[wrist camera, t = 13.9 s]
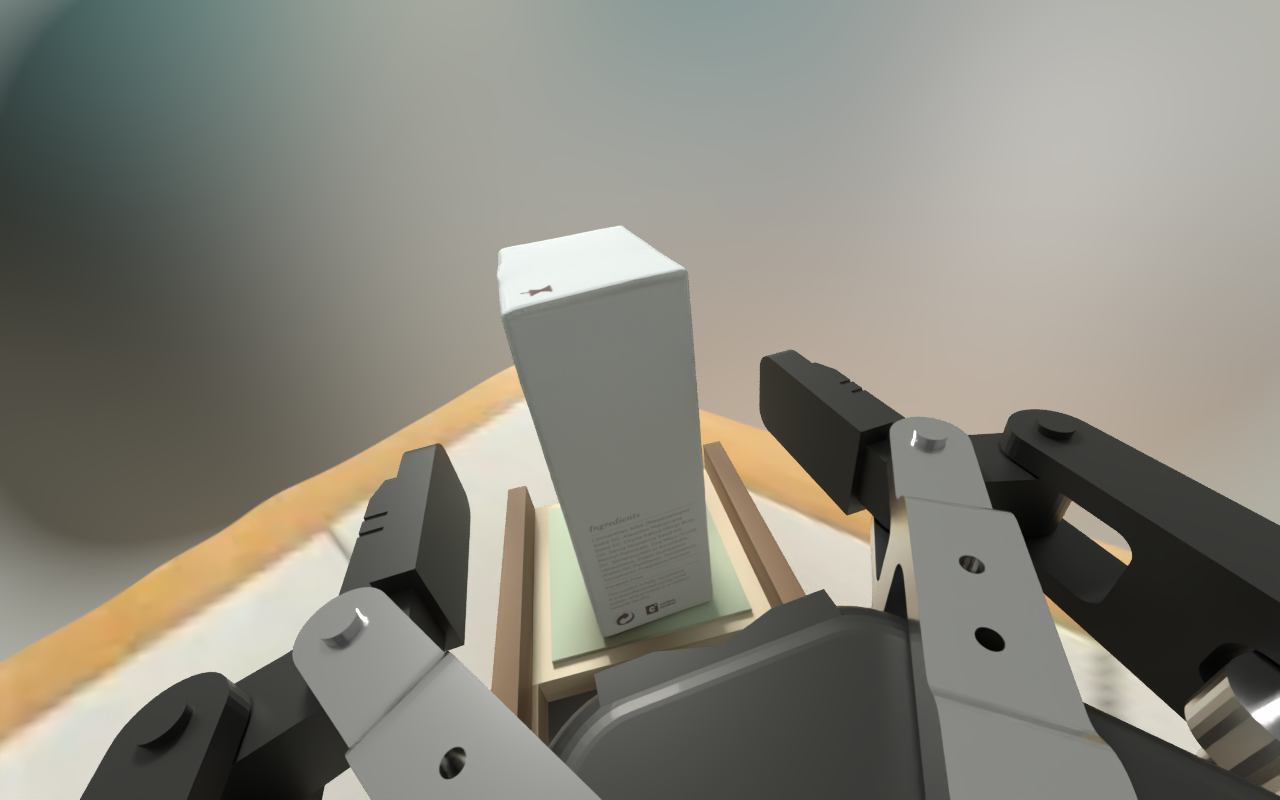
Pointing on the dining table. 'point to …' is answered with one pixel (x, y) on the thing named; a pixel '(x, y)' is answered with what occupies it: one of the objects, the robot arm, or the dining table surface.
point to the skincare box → (615, 414)
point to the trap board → (565, 621)
